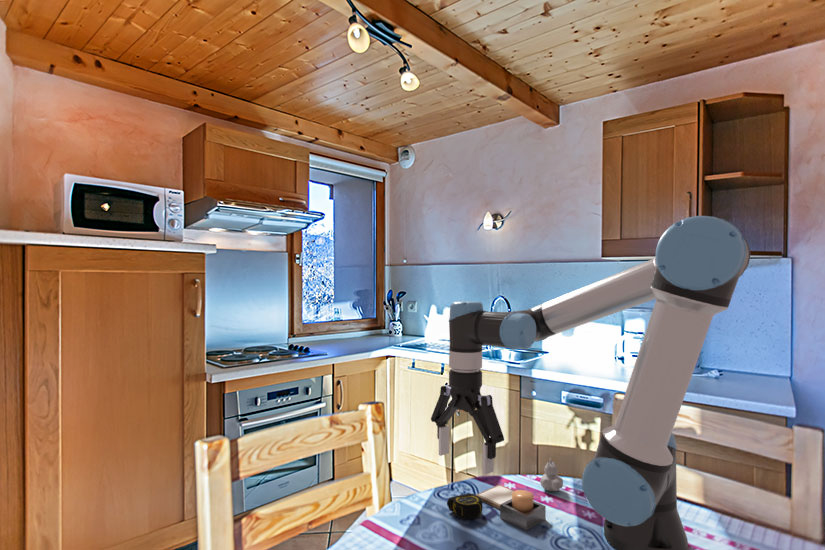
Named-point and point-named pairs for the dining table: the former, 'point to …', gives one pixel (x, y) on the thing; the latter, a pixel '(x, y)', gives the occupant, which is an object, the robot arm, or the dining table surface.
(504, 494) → the wooden square coaster
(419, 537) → the dining table surface
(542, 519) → the button box
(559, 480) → the bunny figurine
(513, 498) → the button
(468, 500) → the tape measure
